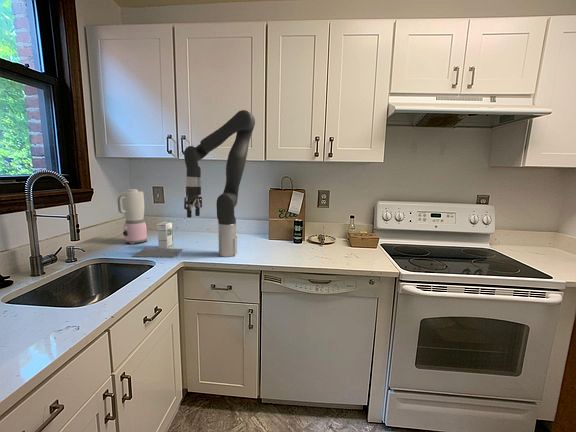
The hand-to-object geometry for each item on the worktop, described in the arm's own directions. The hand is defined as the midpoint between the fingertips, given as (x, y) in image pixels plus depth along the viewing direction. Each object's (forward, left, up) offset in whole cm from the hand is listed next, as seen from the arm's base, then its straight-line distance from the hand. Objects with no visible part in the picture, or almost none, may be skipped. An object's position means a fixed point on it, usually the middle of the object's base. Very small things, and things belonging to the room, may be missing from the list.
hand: (193, 216), depth 151 cm
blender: (+42, -20, -21) cm, 51 cm away
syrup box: (+19, -11, -21) cm, 30 cm away
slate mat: (+19, 0, -20) cm, 28 cm away
